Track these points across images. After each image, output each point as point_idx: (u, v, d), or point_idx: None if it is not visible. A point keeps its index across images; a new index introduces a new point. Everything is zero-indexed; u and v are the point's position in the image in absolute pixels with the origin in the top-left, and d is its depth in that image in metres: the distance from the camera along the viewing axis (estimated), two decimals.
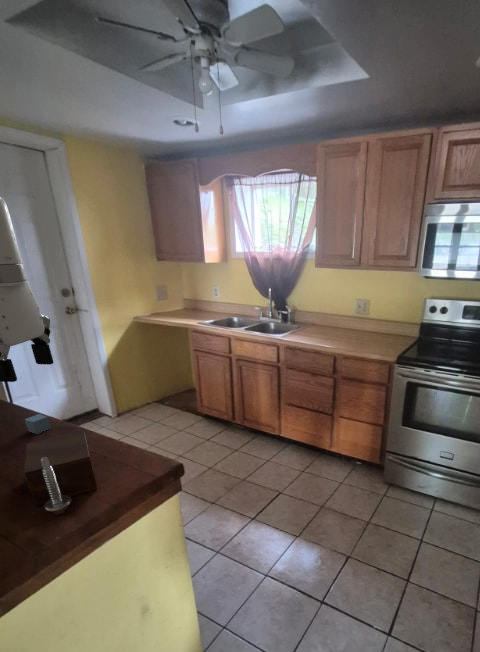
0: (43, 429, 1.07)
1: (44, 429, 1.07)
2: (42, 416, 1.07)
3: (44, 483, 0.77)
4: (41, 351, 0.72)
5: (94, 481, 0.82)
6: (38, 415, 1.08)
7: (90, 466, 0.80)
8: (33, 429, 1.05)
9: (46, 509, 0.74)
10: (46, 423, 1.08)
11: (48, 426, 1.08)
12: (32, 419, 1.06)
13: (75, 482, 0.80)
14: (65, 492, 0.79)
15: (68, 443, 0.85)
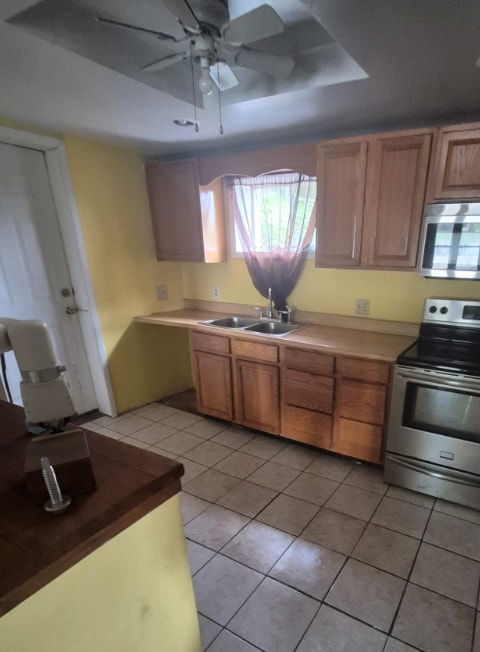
0: (43, 429, 1.07)
1: (44, 429, 1.07)
2: None
3: (44, 483, 0.77)
4: None
5: (94, 481, 0.82)
6: None
7: (90, 466, 0.80)
8: (33, 429, 1.05)
9: (46, 509, 0.74)
10: None
11: None
12: None
13: (75, 482, 0.80)
14: (65, 492, 0.79)
15: (68, 443, 0.85)
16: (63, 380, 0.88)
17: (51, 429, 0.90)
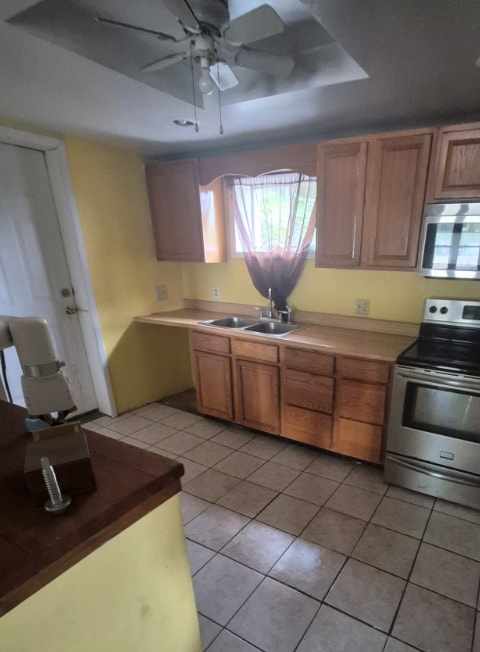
0: None
1: None
2: None
3: (44, 483, 0.77)
4: None
5: (94, 481, 0.82)
6: None
7: (90, 466, 0.80)
8: (33, 429, 1.05)
9: (46, 509, 0.74)
10: (46, 423, 1.08)
11: (48, 426, 1.08)
12: (32, 419, 1.06)
13: (75, 482, 0.80)
14: (65, 492, 0.79)
15: (68, 443, 0.85)
16: (62, 375, 0.92)
17: (51, 422, 0.94)
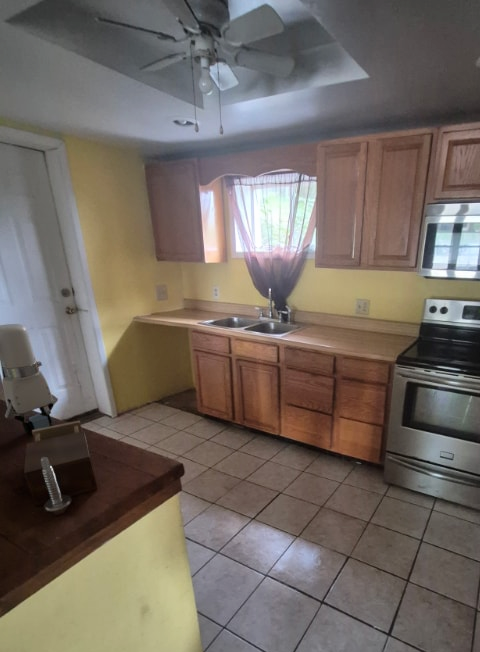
0: None
1: None
2: (42, 416, 1.07)
3: (44, 483, 0.77)
4: None
5: (94, 481, 0.82)
6: (38, 415, 1.08)
7: (90, 466, 0.80)
8: None
9: (46, 509, 0.74)
10: (46, 423, 1.08)
11: (48, 426, 1.08)
12: (32, 419, 1.06)
13: (75, 482, 0.80)
14: (65, 492, 0.79)
15: (68, 443, 0.85)
16: None
17: (27, 420, 1.03)
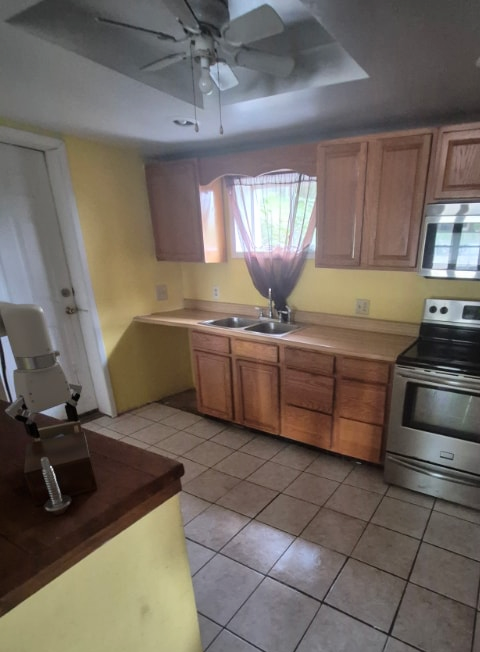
0: None
1: None
2: None
3: (44, 483, 0.77)
4: (70, 411, 0.93)
5: (94, 481, 0.82)
6: None
7: (90, 466, 0.80)
8: None
9: (46, 509, 0.74)
10: None
11: None
12: None
13: (75, 482, 0.80)
14: (65, 492, 0.79)
15: (68, 443, 0.85)
16: (60, 365, 0.87)
17: (30, 421, 0.83)
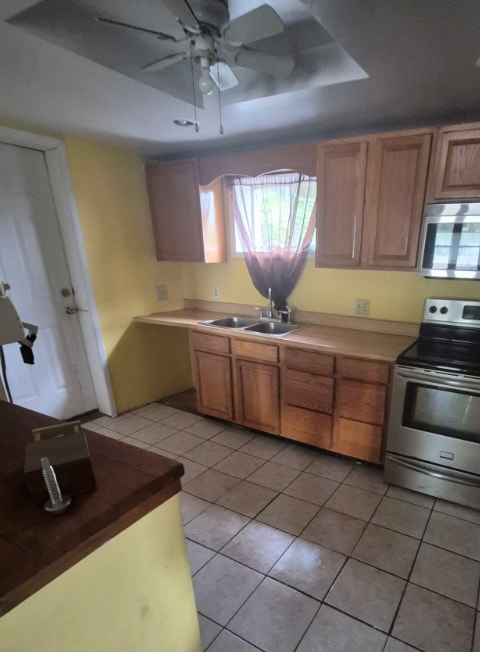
0: None
1: None
2: None
3: (44, 483, 0.77)
4: (25, 353, 0.86)
5: (94, 481, 0.82)
6: None
7: (90, 466, 0.80)
8: None
9: (46, 509, 0.74)
10: None
11: None
12: None
13: (75, 482, 0.80)
14: (65, 492, 0.79)
15: (68, 443, 0.85)
16: (10, 298, 0.80)
17: None
